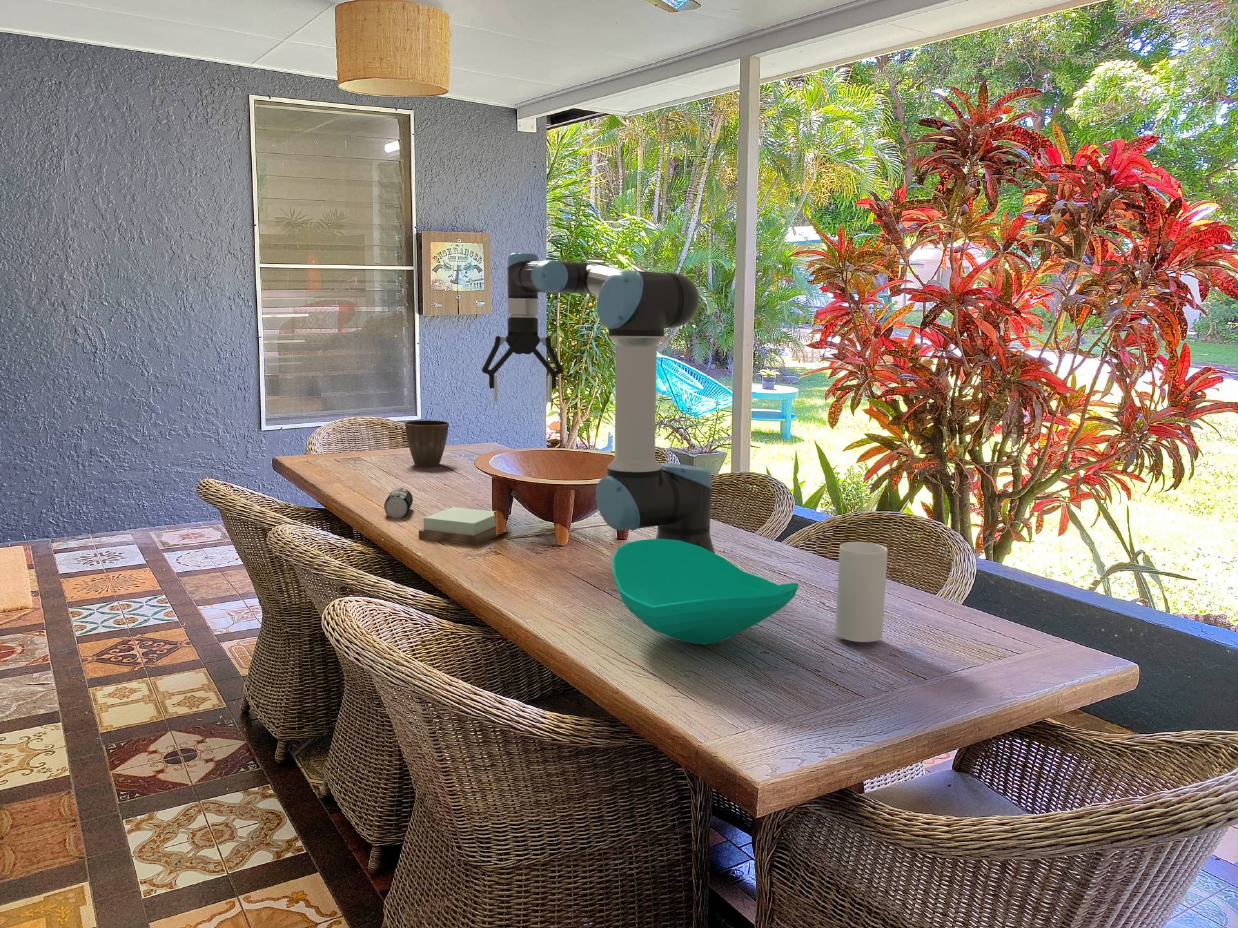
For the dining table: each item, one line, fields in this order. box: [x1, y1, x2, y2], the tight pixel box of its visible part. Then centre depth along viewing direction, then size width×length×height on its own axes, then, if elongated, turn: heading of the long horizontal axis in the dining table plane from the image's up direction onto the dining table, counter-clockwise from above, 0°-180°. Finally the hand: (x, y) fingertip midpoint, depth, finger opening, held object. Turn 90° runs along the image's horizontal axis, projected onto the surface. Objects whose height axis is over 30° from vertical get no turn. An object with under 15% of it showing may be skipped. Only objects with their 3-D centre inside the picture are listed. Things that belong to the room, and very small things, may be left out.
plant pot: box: [404, 419, 450, 468], centre depth 338 cm, size 15×15×16 cm
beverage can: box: [383, 487, 414, 519], centre depth 264 cm, size 7×7×12 cm
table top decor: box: [611, 538, 799, 645], centre depth 171 cm, size 40×28×13 cm
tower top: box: [423, 506, 496, 536], centre depth 242 cm, size 14×14×3 cm
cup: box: [834, 541, 888, 643], centre depth 174 cm, size 8×8×16 cm
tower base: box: [418, 526, 508, 547], centre depth 243 cm, size 16×16×3 cm
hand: (522, 401), depth 247 cm, fingers open, 13 cm apart
